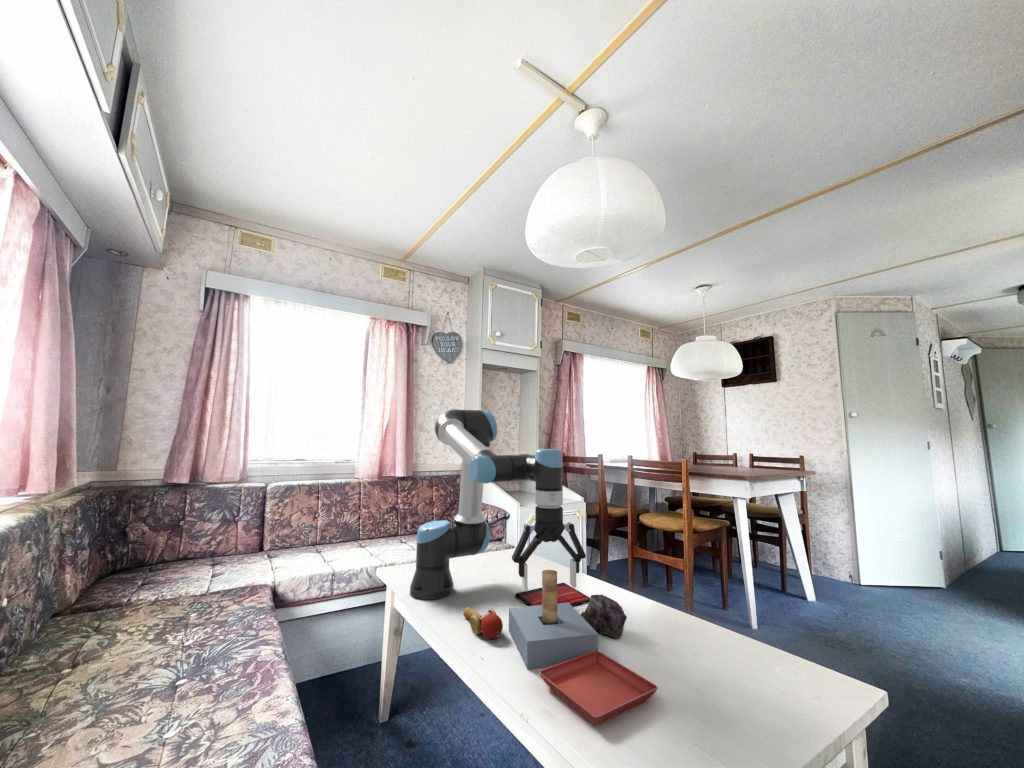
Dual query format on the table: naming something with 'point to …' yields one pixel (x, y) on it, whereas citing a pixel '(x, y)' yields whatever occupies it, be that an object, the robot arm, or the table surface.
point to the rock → (605, 615)
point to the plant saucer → (598, 686)
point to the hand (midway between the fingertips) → (549, 587)
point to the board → (550, 635)
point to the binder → (563, 595)
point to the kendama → (484, 623)
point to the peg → (549, 597)
